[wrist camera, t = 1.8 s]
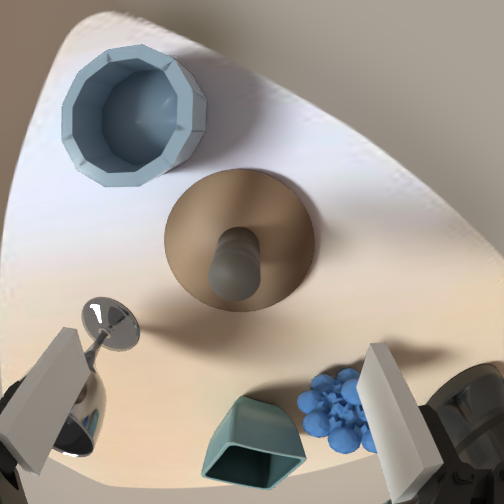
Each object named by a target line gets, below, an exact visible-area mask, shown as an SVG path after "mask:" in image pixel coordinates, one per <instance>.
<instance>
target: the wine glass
mask: <svg viewBox="0 0 504 504" xmlns="http://www.w3.org/2000/svg"><path fill="white" fill-rule="evenodd" d="M82 323H83V326H84V328H85V330H86V332H87V333H88V335H89V336H90V337H91V338H92V339H93V340H94V343H93V344H92V345H91V346H90V347H89V348H88V349H87V350H86V351H85V352H84V355H85V358H86V361H87V364H88V367H89V370H90V375H89V377H88V379H87V380H86V382H85V384H84V386H83V388H82V390H81V392H80V393H79V395H78V397H77V399H76V401H75V403H74V405H73V407H72V409H71V411H70V413H69V414H68V416H67V418H66V420H65V422H64V424H63V426H62V428H61V430H60V432H59V434H58V436H57V438H56V441H55V443H54V445H53V447H52V449H54V450H56V451H58V452H61V453H63V454H66V455H70V456H75V457H86V456H89V455H90V454H91V453H92V452H93V449H94V447H95V445H96V442H97V440H98V438H99V435H100V432H101V429H102V426H103V422H104V417H105V411H106V402H107V399H106V390H105V387H104V384H103V381H102V379H101V377H100V375H99V373H98V371H97V368H96V357H97V354H98V352H99V350H100V347H101V346H102V347H104V348H106V349H108V350H112V351H118V352H119V351H127V350H129V349H131V348H132V347H134V346H135V345H136V343H137V342H138V339H139V326H138V324H137V321H136V319H135V318H134V316H133V315H132V313H131V312H130V311H129V310H128V309H127V308H126V307H125V306H123V305H122V304H121V303H119V302H117V301H115V300H113V299H110V298H105V297H97V298H93V299H91V300H89V301H88V302H87V303H86V304H85V305H84V307H83V310H82ZM33 367H34V366H33ZM33 367H31V368H30V369H29V370H28V371H27V372H26V373H25V374H24V375H23V377H22V378H21V379H20V380H19V381H20V382H23V381H24V379H25V378H26V376H27V375H28V374H29V372H30V371H31V369H32V368H33Z"/></svg>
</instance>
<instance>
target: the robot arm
mask: <svg viewBox="0 0 504 504" xmlns="http://www.w3.org/2000/svg"><path fill="white" fill-rule="evenodd" d="M89 375H90V370H89V367H88V364H87V361H86V358H85V355H84V352H83V349H82V345H81V342H80V339H79V335H78V332H77V329H73V328H66V327H63V328H62V330H61V331H60V332H59V333H58V335H57V336H56V337H55V339H54V340H53V341H52V343H51V344H50V345H49V346H48V348H47V349H46V350H45V352H44V353H43V354H42V356H41V357H40V358H39V360H38V361H37V363H36V364H35V365H34V367H33V368H32V369H31V371H30V372H29V374H28V375H27V376H26V378H25V379H24V381H23V382H20V381H17V382H15V383H14V384H13V385H11V386H10V387H9V388H8V390H7V391H6V392H5V394H4V395H3V396H4V397H2V398H1V400H0V504H28V503H27V500H26V497H25V493H24V490H23V487H22V484H21V481H20V477H19V473H18V471H17V469H16V468H15V467H16V465H17V463H18V464H19V465H20V466H21V467H22V468H23V469H24V470H25V471H27V472H29V473H32V474H34V475H36V476H39V475H40V473H41V470H42V468H43V466H44V464H45V461H46V459H47V457H48V455H49V453H50V451H51V449H52V447H53V445H54V443H55V441H56V438H57V436H58V434H59V432H60V430H61V428H62V426H63V424H64V422H65V420H66V418H67V416H68V414H69V413H70V411H71V409H72V407H73V405H74V403H75V401H76V399H77V397H78V395H79V393H80V392H81V390H82V388H83V386H84V384H85V382H86V380H87V379H88V377H89ZM356 388H357V391H358V394H359V397H360V400H361V403H362V406H363V409H364V412H365V415H366V418H367V421H368V425H369V428H370V431H371V434H372V437H373V440H374V443H375V447H376V450H377V453H378V456H379V460H380V463H381V466H382V470H383V473H384V476H385V480H386V483H387V486H388V490H389V494H390V497H391V499H390V500H388V501H387V502H386V503H384V504H504V378H503V376H502V375H501V373H500V372H499V371H498V370H497V368H496V367H495V366H493V365H489V364H484V365H479V366H475V367H473V368H470V369H468V370H466V371H464V372H462V373H461V374H459V375H457V376H456V377H454V378H453V379H451V380H450V381H449V382H447V383H446V384H445V385H444V386H443V387H442V388H440V389H439V390H438V391H437V392H436V393H435V394H434V395H433V396H432V398H431V399H430V400H429V401H428V402H427V404H426V405H422V406H418V405H417V403H416V401H415V399H414V397H413V395H412V393H411V391H410V389H409V387H408V385H407V383H406V381H405V379H404V377H403V375H402V373H401V371H400V369H399V367H398V366H397V364H396V362H395V360H394V358H393V356H392V354H391V352H390V350H389V348H388V346H387V345H386V343H370V345H369V348H368V352H367V355H366V358H365V362H364V365H363V368H362V371H361V374H360V377H359V381H358V384H357V386H356Z"/></svg>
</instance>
